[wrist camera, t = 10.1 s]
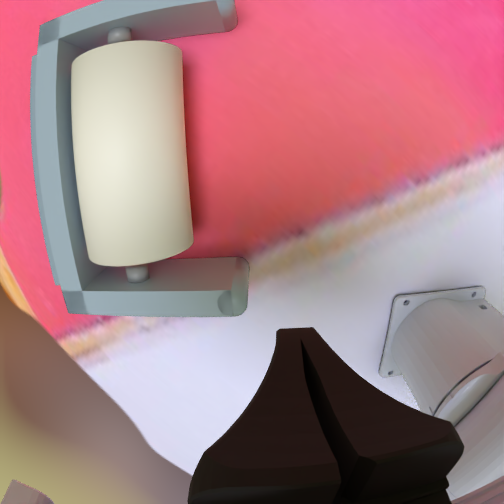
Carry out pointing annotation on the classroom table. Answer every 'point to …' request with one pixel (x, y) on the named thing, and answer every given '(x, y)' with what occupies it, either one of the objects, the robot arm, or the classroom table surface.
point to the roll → (131, 152)
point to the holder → (64, 176)
